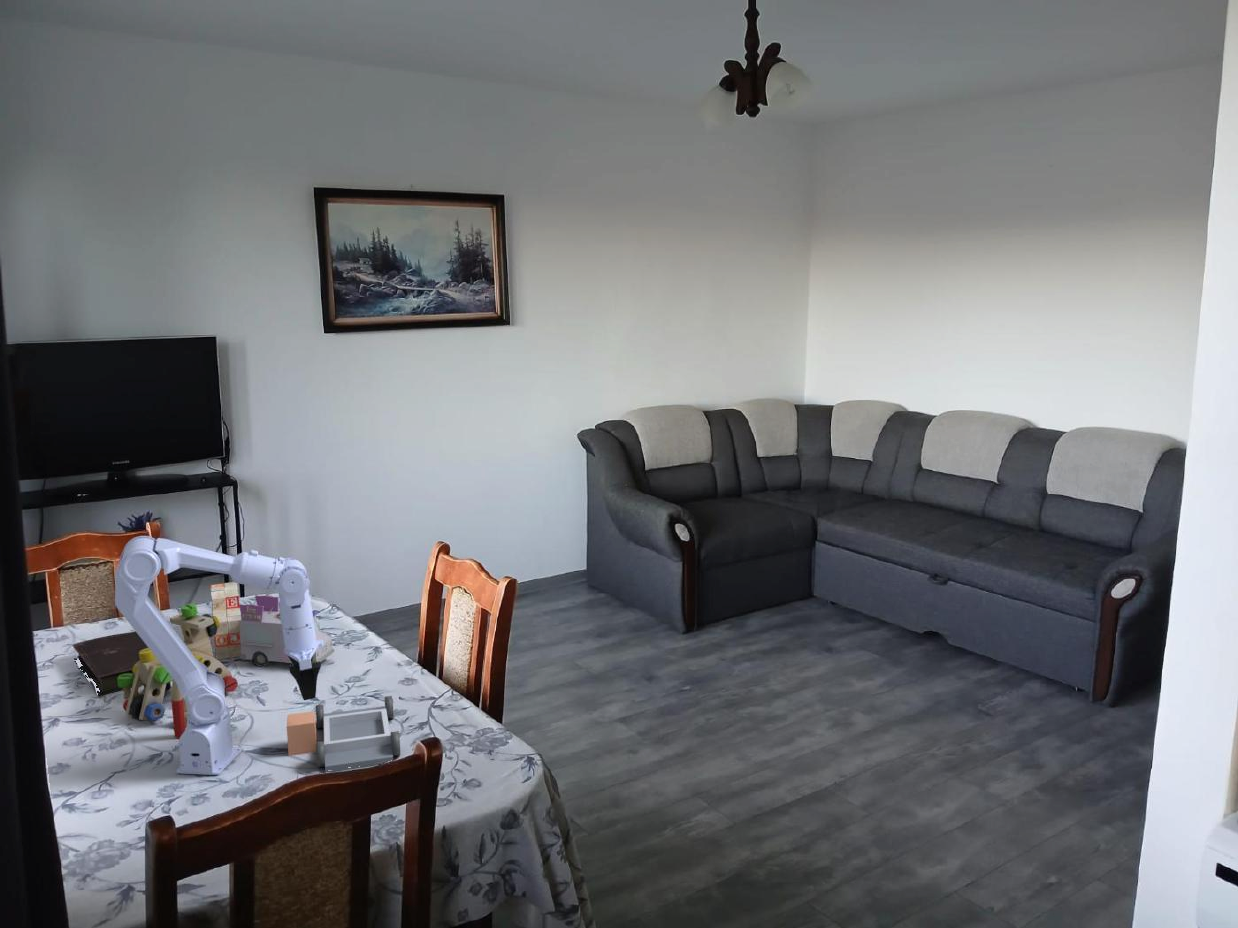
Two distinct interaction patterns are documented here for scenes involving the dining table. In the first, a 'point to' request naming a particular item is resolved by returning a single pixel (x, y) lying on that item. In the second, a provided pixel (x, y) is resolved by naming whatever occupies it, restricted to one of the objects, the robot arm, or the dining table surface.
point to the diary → (109, 659)
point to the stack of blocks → (226, 620)
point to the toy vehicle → (271, 633)
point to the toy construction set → (159, 679)
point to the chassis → (356, 737)
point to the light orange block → (301, 733)
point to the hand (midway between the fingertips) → (307, 690)
